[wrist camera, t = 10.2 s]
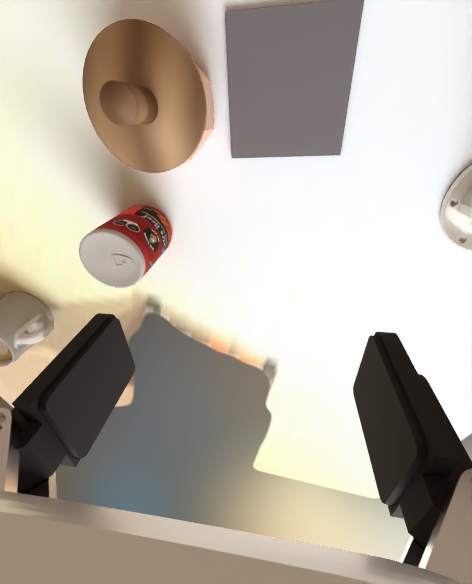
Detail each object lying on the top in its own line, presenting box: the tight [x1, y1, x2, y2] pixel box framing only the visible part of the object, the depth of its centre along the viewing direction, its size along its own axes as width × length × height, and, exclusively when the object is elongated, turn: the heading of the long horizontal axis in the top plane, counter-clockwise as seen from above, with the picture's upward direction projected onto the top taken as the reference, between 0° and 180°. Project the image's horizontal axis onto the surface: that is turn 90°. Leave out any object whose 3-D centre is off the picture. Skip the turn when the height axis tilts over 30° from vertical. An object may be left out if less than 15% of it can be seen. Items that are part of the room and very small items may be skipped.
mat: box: [225, 0, 364, 158], centre depth 29 cm, size 13×13×1 cm
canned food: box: [79, 206, 172, 288], centre depth 36 cm, size 8×8×11 cm
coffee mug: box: [0, 292, 54, 366], centre depth 50 cm, size 13×10×10 cm
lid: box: [83, 19, 207, 173], centre depth 24 cm, size 12×12×6 cm
